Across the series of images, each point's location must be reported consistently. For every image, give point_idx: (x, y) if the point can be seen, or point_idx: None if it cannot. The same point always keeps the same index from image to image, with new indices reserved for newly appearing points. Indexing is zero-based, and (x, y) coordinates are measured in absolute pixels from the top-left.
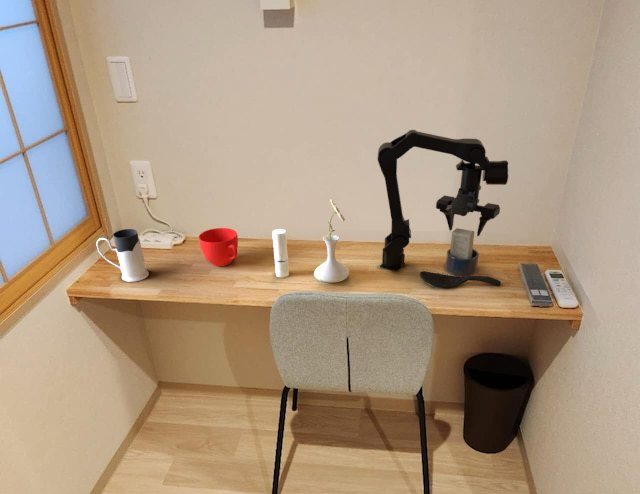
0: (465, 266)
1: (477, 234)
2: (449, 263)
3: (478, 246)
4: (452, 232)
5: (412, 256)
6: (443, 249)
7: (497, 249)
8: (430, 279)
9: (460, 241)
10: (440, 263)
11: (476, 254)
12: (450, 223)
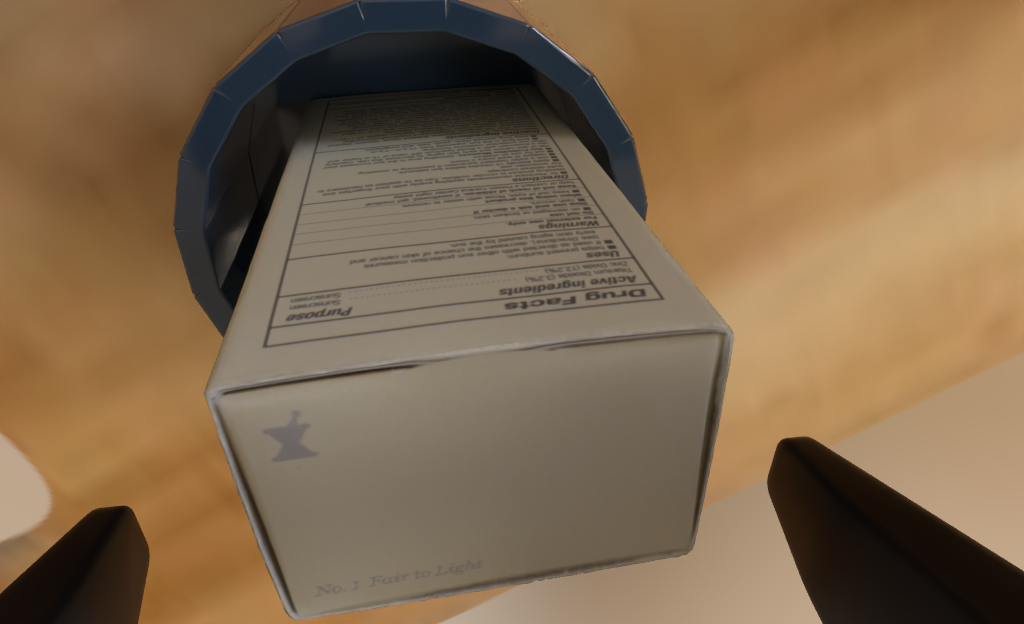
0: (268, 31)
1: (98, 537)
2: (517, 9)
3: None
4: (721, 350)
5: (973, 146)
6: None
7: None
8: None
9: (452, 257)
10: (661, 155)
11: None
12: (915, 566)
